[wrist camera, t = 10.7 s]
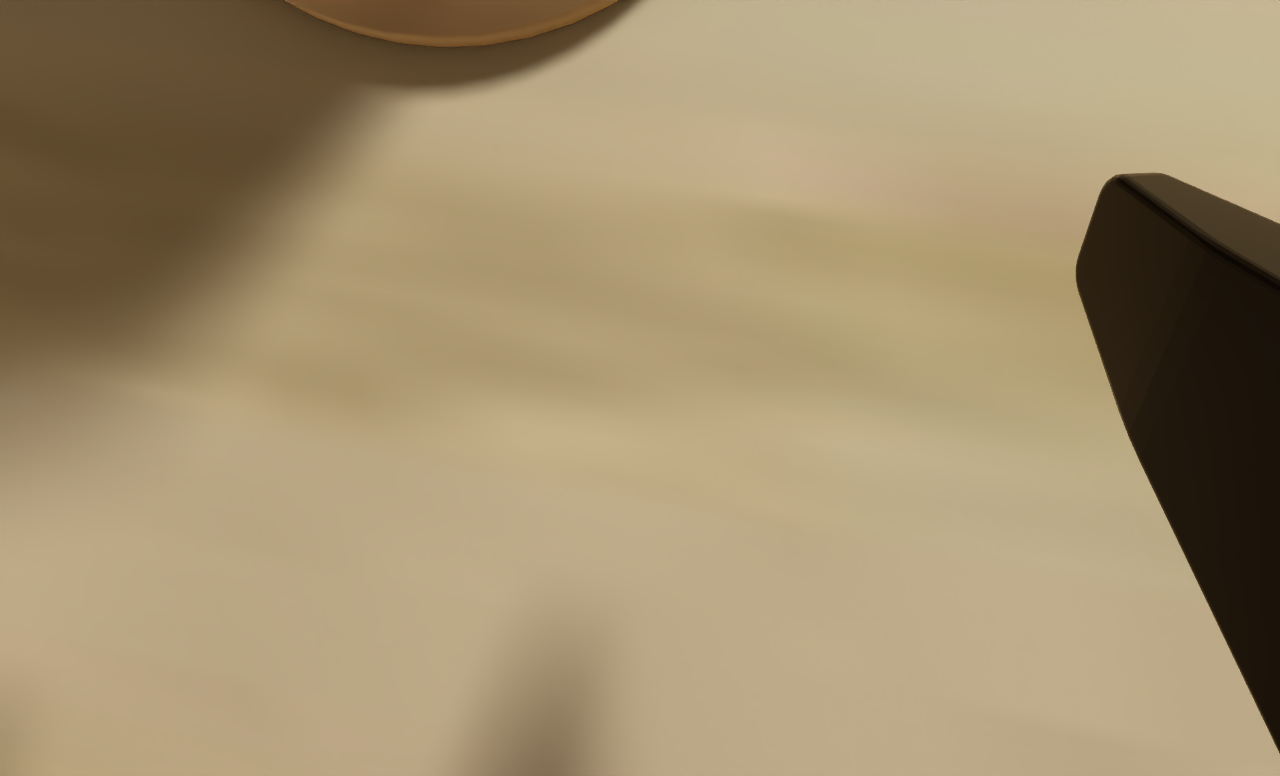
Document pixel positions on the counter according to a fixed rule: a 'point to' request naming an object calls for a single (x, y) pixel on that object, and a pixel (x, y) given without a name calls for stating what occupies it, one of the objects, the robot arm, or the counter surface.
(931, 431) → the counter surface
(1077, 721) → the counter surface
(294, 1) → the cork trivet
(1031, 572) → the counter surface
